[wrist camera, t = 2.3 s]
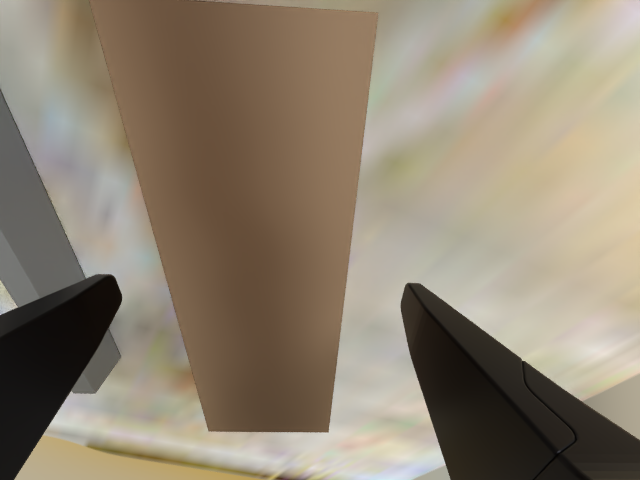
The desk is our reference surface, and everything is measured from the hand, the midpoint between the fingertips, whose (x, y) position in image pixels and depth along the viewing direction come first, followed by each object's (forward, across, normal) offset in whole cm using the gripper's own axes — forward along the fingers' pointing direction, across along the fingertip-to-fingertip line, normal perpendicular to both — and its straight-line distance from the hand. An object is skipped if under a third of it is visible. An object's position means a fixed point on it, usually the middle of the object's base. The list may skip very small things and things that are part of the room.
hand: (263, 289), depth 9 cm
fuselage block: (+5, 0, 0) cm, 5 cm away
